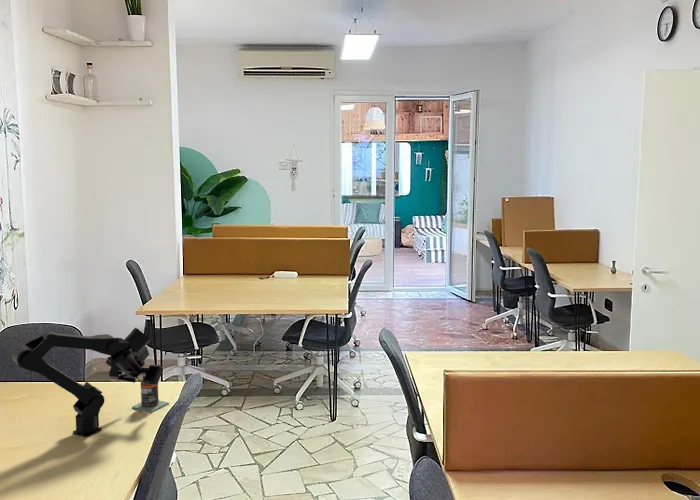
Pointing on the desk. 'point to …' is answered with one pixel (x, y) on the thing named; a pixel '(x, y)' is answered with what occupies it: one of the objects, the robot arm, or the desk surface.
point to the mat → (150, 409)
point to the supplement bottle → (149, 394)
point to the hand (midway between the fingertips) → (146, 382)
